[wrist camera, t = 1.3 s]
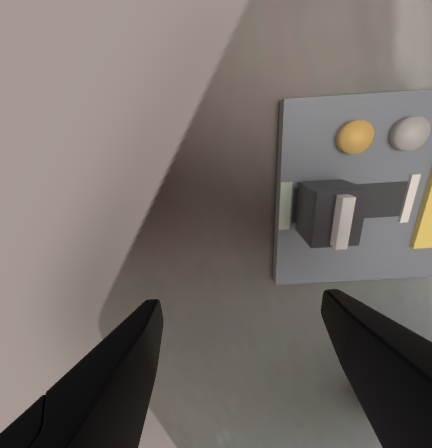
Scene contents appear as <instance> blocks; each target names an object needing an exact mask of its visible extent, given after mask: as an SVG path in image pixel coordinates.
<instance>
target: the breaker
mask: <svg viewBox="0 0 432 448" xmlns="http://www.w3.org/2000/svg"><path fill="white" fill-rule="evenodd" d="M369 192H370V189H367V188H365V187H362V186H359V185H357V184H354V183H351V182H348V181H346V180H343V179H339V180H322V181H306V182H299V187H298V200H297V213H296V226H295V230H296V231H297V232H298V233H299V235H300V236H301V237H302V238H303V239H304V241H305V242H306V243H307V244H308V245H309V246H310V248H327V247H333V248H334V249H335V250H341V249H347V247H348V246H359V243H360V238H361V232H362V227H363V222H364V217H365V212H366V207H367V202H368V197H369Z"/></svg>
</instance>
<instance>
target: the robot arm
mask: <svg viewBox="0 0 432 448" xmlns="http://www.w3.org/2000/svg"><path fill="white" fill-rule="evenodd" d="M321 315H322V318H323V321H324V323H325V326H326V328H327V331H328V334H329V336H330V339H331V341H332V344H333V346H334V349H335V352H336V354H337V357H338V359H339V361H340V364H341V366H342V368H343V370H344V372H345V374H346V376H347V378H348V380H349V382H350V384H351V386H352V388H353V390H354V392H355V394H356V396H357V398H358V400H359V402H360V404H361V406H362V408H363V410H364V412H365V414H366V416H367V418H368V420H369V422H370V423H371V425H372V427H373V429H374V431H375V433H376V435H377V437H378V439H379V441H380V443H381V445H382V447H383V448H432V342H431V341H429V340H427V339H425V338H424V337H422V336H420V335H418V334H416V333H415V332H413V331H411V330H409V329H408V328H406V327H404V326H402V325H400V324H399V323H397V322H395V321H393V320H392V319H390V318H388V317H386V316H385V315H383V314H381V313H379V312H377V311H376V310H374V309H372V308H370V307H369V306H367V305H365V304H363V303H361V302H360V301H358V300H356V299H354V298H353V297H351V296H349V295H347V294H346V293H344V292H342V291H340V290H338V289H329V290H325V291H324V293H323V298H322V305H321ZM162 331H163V315H162V309H161V304H160V301H159V300H158V299H151V300H146V301H145V302H143V303H142V304H141V305H140V306H139V307H138V308H137V309H136V310H135V311H134V312H133V313H132V314H130V315H129V316H128V317H127V318H126V319H125V320H124V321H123V322H122V323H121V324H120V325H118V326H117V327H116V328H115V329H114V330H113V331H112V332H111V333H110V334H109V335H108V336H106V337H105V338H104V339H103V340H102V341H101V342H100V343H99V344H98V345H97V346H96V347H95V348H93V349H92V350H91V351H90V352H89V353H88V354H87V355H86V356H85V357H84V358H83V359H81V360H80V361H79V362H78V363H77V364H76V365H75V366H74V367H73V368H72V369H71V370H70V371H69V372H67V373H66V374H65V375H64V376H63V377H62V378H61V379H60V380H59V381H58V382H57V383H55V384H54V385H53V386H52V387H51V388H50V389H49V390H48V391H47V392H46V395H42V396H41V397H40V398H39V399H38V400H37V401H36V402H35V403H34V404H33V405H31V406H30V407H29V408H28V409H27V410H26V411H25V412H24V413H23V414H21V415H20V416H19V417H18V418H17V419H16V420H15V421H14V422H12V423H11V424H10V425H9V426H8V427H7V428H6V429H5V430H4V431H2V432H1V433H0V448H138V445H139V442H140V438H141V434H142V430H143V426H144V421H145V418H146V413H147V410H148V406H149V402H150V398H151V394H152V390H153V386H154V382H155V377H156V372H157V366H158V359H159V352H160V345H161V338H162Z"/></svg>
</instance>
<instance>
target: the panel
mask: <svg viewBox="0 0 432 448" xmlns="http://www.w3.org/2000/svg"><path fill="white" fill-rule="evenodd" d="M339 179H343V180H346V181H348V182H351V183H354V184H357V185H359V186H362V187H365V188H367V189H370V192H369V197H368V202H367V207H366V212H365V217H364V222H363V227H362V232H361V238H360V243H359V246H348V247H347V249H341V250H335V249H334V248H333V247H327V248H310V246H309V245H308V244H307V243H306V242H305V241H304V239H303V238H302V237H301V236H300V235H299V233H298V232H297V231H296V230H295V226H296V213H297V200H298V187H299V182H306V181H322V180H339ZM428 276H432V89H429V90H414V91H398V92H383V93H367V94H352V95H336V96H321V97H305V98H290V99H283V100H281V101H280V109H279V134H278V159H277V184H276V209H275V234H274V259H273V280H274V283H275V285H287V284H305V283H322V282H340V281H357V280H375V279H392V278H410V277H428Z"/></svg>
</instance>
